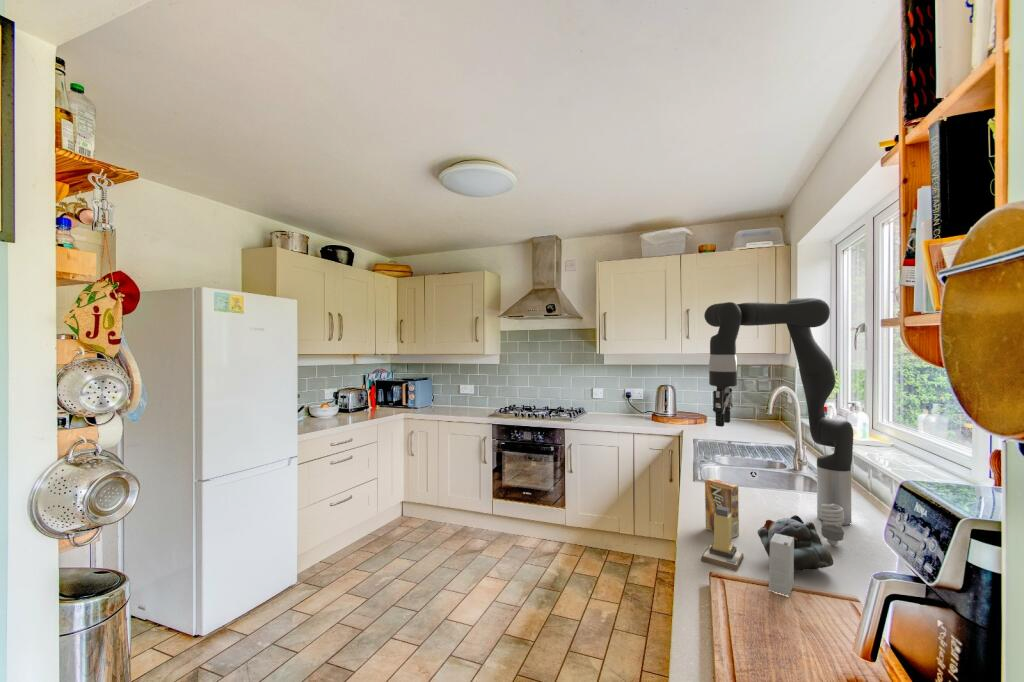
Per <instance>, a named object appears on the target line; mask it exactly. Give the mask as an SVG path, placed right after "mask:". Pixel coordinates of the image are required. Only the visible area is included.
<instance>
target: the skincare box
mask: <svg viewBox="0 0 1024 682" xmlns="http://www.w3.org/2000/svg"><path fill="white" fill-rule="evenodd" d="M768 559H769V560H768V564H769V565H768V566H769V567H768V591H769V590H771V591H774V592H777V593H781V594H784V595H788V596H789V595H790V596H791V594H790V593H792V591H793V589H792V587H793V588H794V576H795V575H794V573H795V572H794V538H793V537H790V536H785V535H781V534H776V533H775V534H774V535H773V537H772V539H771V541H770V553H769V557H768ZM791 590H792V591H791ZM790 596H789V597H790Z"/></svg>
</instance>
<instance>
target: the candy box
mask: <svg viewBox="0 0 1024 682" xmlns="http://www.w3.org/2000/svg"><path fill="white" fill-rule="evenodd" d="M704 497H705V498H704V503H705V506H704V507H705V509H704V510H705V512H704V513H705V530H709V531H711V532H713V533H714V514H715V513H716V508H717V507H718V506H722V507H727V508H729V513H730V514H731V539H734V538H736V537H739V536H740V520H739V515H740V514H739V512H740V511H739V485H738V484H734V483H731V482H726V481H723V480H719V479H715V478H709V479H706V480H704Z"/></svg>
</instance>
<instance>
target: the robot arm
mask: <svg viewBox="0 0 1024 682" xmlns="http://www.w3.org/2000/svg"><path fill="white" fill-rule="evenodd" d="M830 315H831V308H830V306H829V304H828V303H827V302H826V301H825V300H824V299H821V298H817V297H816V298H815V297H802V298H801V297H797V298H796V297H795V298H792V299H790V300H788V301H787V302H786V303H784V302H781V303H779V302H743V303H735V302H733V301H731V302H730V301H728V302H721V303H714V304H711V305H709V306H707V307H706V309H705V311H704V320H705V322H706V323H707V324H708V325H709V326H711V327H714V328H718V331H717V333H716V334H714V335H712V336H711V337H710V341H709V361H708V363H709V364H708V370H709V371H708V374H709V376H708V378H709V379H708V380H709V381H708V385H710V386H712V387H716V390H713V391H712V396H713V397H712V398H713V399H712V407H713V408H712V411H713V412H714V414H715V427H722V428H723V427H724V426H725V424H730V423H731V411H732V408H733V406H734V405H733V387H737V386H738V360H737V338H738V335H739V331H740V327H741V326H745V327H747V326H752V327H753V326H769V325H780V324H781V325H784V324H785V325H786V328H787V330H788V332H789V335H790V339H791V341H792V344H793V348H794V352H795V355H796V356H795V357H796V359H797V365H798V372H799V375H800V380H801V382H802V383H801V384H802V388H803V390H804V391H803V392H804V396H805V402H806V408H807V416H808V423H809V425H808V426H809V432H810V436H811V439H812V440H813V442H814V443H815V444H817V445H820V446H824V447H825V446H826V447H831V448H834V451H833V453H831V454H827V455H820V456H818V457H817V458H816V516H817V519H819V520H821V521H822V522H823V521H826V522H833V523H834V522H836V521H827V520H823V519H821V516H823V515H821V514H820V512H823V511H821V508H823V507H821V505H822V504H827V505H830V504H836V505H838V506H840V507H842V508H843V512H844V519H843V520H844V523H843V524H842V526H848V524H849V525H851V524H852V463H853V449H854V447H853V446H854V428H853V426H852V424H851V423H850V421H848V420H843V419H836V418H829V417H826V414H825V404H826V402H827V400H828V398H830V397H829V396H830V395H831V394H832V392H833V390H834V388H835V386H836V375H835V370H834V365H833V362H832V360H831V359H830V357H829V356H828V354H827V353H826V352H825V351H824V349H823V348H822V347H821V346H820V345H819V343H818V342H817V341H816V339H815V338H814V335H813V333H812V330H811V328H819V327H820V326H822V325H823V326H824V325H825V324H826V323H827V322H828V320H829V318H830ZM828 509H832V510H836V509H833V508H828ZM840 513H841V512H840ZM833 514H836V513H833ZM833 518H836V517H833ZM850 523H851V524H850Z"/></svg>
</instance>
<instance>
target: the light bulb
mask: <svg viewBox="0 0 1024 682" xmlns="http://www.w3.org/2000/svg"><path fill="white" fill-rule="evenodd" d="M821 507H823V508H821V511H823V512H820V514H821V515H823V516H821V519H823V520H827V521H836V522H834V523H833V522H826V521H822V524H821V526H820V531H821V536H822V537H823V538H825V539H826V542H827V544H828V545H830V546H831V547H835V546H837V545H838V544H839V543H838V542H842V541H843V540H844V537H845V536H844V534H845V532H844V528H842V526H843V525H842V524H843V523H844V520H843V519H844V512H843V508H842V507H840V506H838V505H836V504H830V505H827V504H822V505H821ZM828 508H833V509H836V510H832V509H828ZM840 512H841V513H840ZM833 513H836V514H833ZM833 517H836V518H833Z"/></svg>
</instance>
